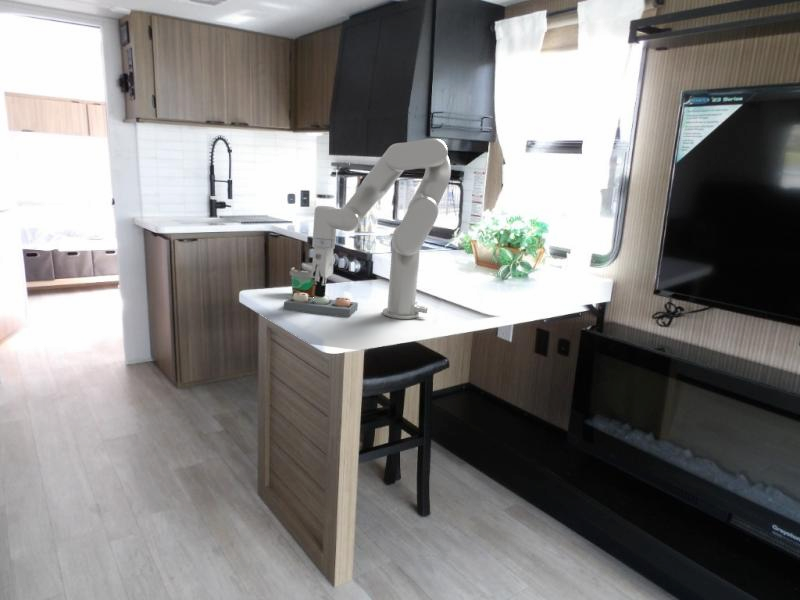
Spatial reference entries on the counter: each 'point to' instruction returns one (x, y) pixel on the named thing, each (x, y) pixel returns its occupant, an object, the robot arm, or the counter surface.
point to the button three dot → (342, 302)
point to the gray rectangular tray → (320, 307)
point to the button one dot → (321, 300)
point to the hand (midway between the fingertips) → (319, 296)
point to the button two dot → (300, 297)
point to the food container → (302, 282)
